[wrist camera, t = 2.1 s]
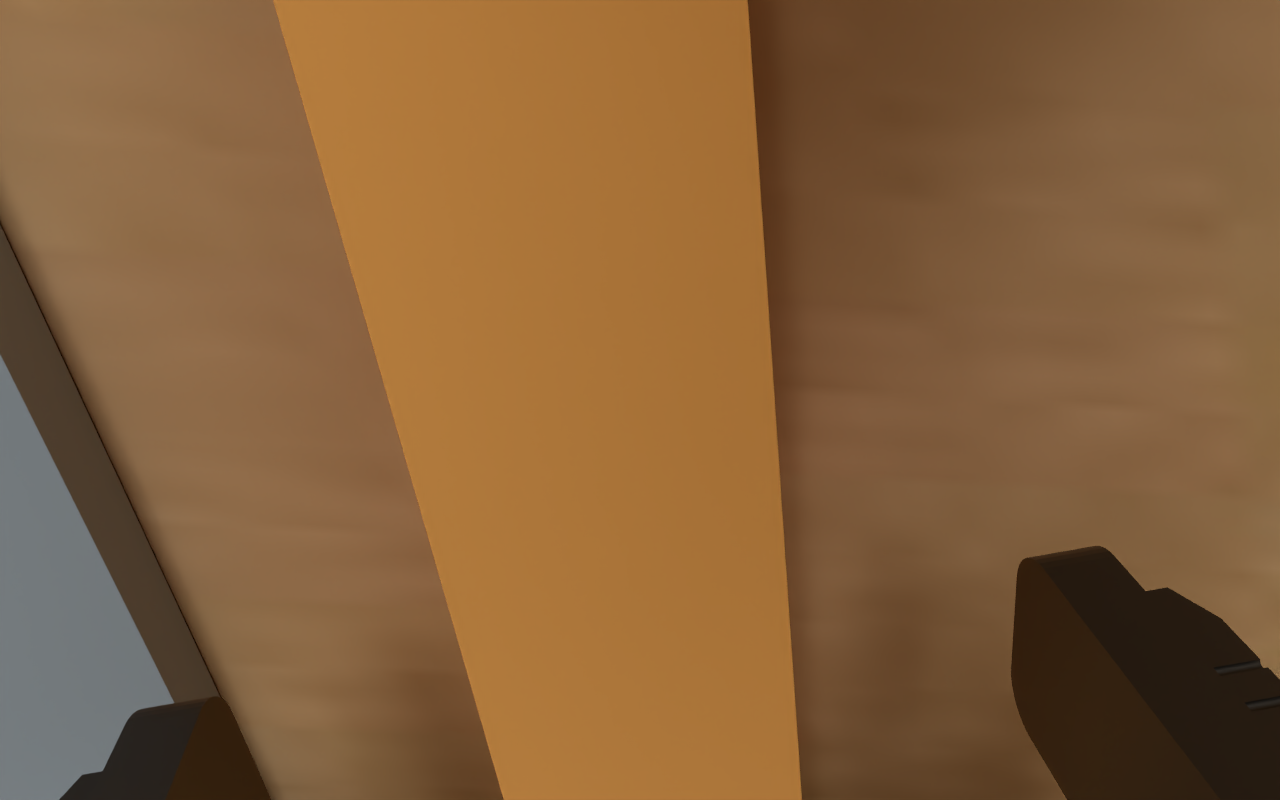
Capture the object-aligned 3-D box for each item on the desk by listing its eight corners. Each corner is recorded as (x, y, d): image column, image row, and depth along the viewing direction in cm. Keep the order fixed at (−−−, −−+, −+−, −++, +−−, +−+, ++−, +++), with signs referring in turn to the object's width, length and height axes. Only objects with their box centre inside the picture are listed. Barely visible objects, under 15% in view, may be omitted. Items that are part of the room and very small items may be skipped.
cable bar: (275, -330, 10) (150, -428, 7) (649, -381, 10) (713, -503, 7) (558, 805, 19) (566, 1016, 16) (760, 770, 19) (813, 972, 16)
